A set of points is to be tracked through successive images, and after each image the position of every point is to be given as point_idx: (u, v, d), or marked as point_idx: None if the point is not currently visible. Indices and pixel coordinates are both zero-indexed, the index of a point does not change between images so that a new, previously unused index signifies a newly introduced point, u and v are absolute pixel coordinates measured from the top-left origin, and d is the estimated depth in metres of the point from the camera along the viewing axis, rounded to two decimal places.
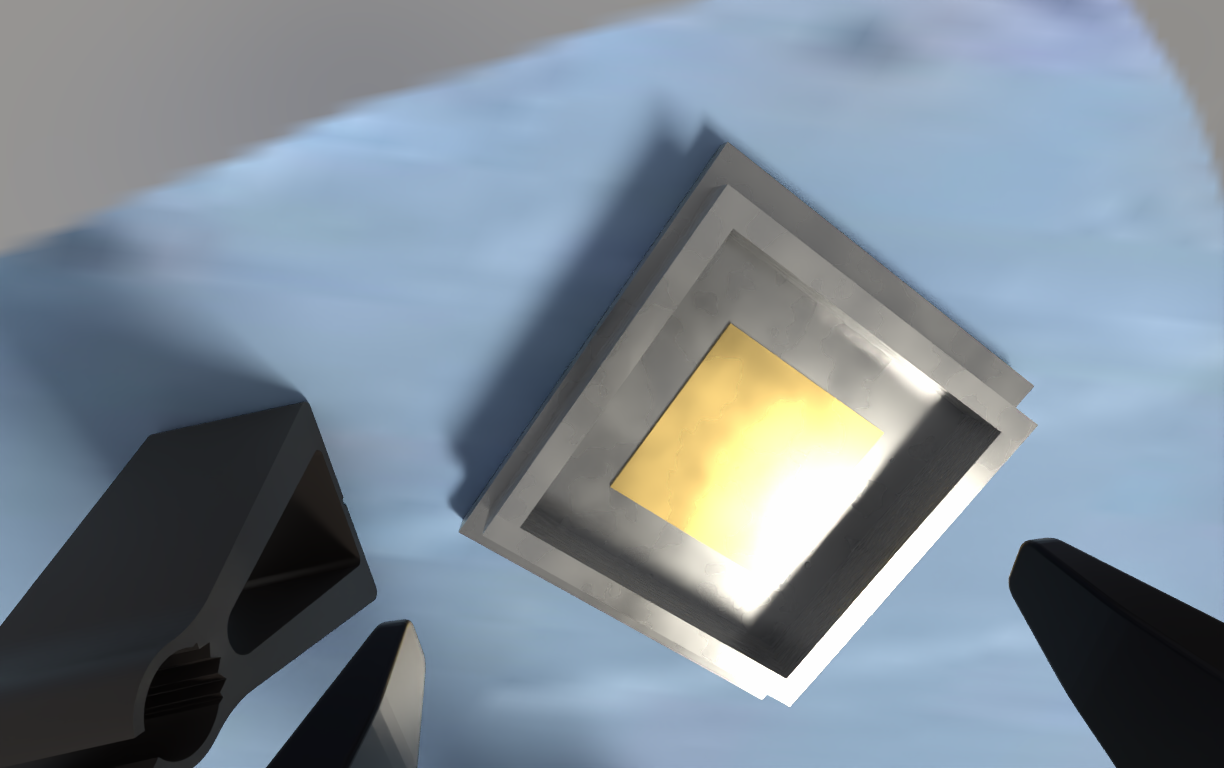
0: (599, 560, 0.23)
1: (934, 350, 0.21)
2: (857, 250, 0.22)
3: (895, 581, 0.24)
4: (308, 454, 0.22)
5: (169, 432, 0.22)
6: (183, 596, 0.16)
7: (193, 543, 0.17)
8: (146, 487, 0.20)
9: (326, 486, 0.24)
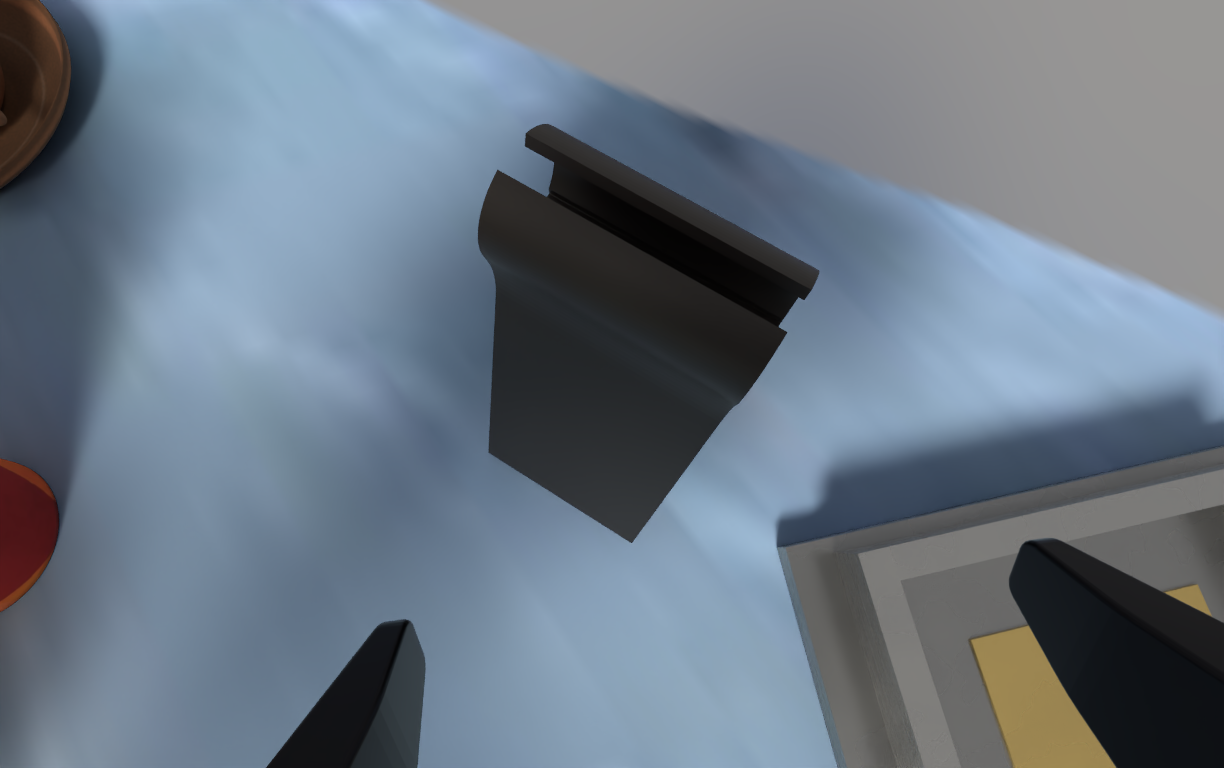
0: None
1: None
2: None
3: None
4: None
5: None
6: None
7: None
8: None
9: None
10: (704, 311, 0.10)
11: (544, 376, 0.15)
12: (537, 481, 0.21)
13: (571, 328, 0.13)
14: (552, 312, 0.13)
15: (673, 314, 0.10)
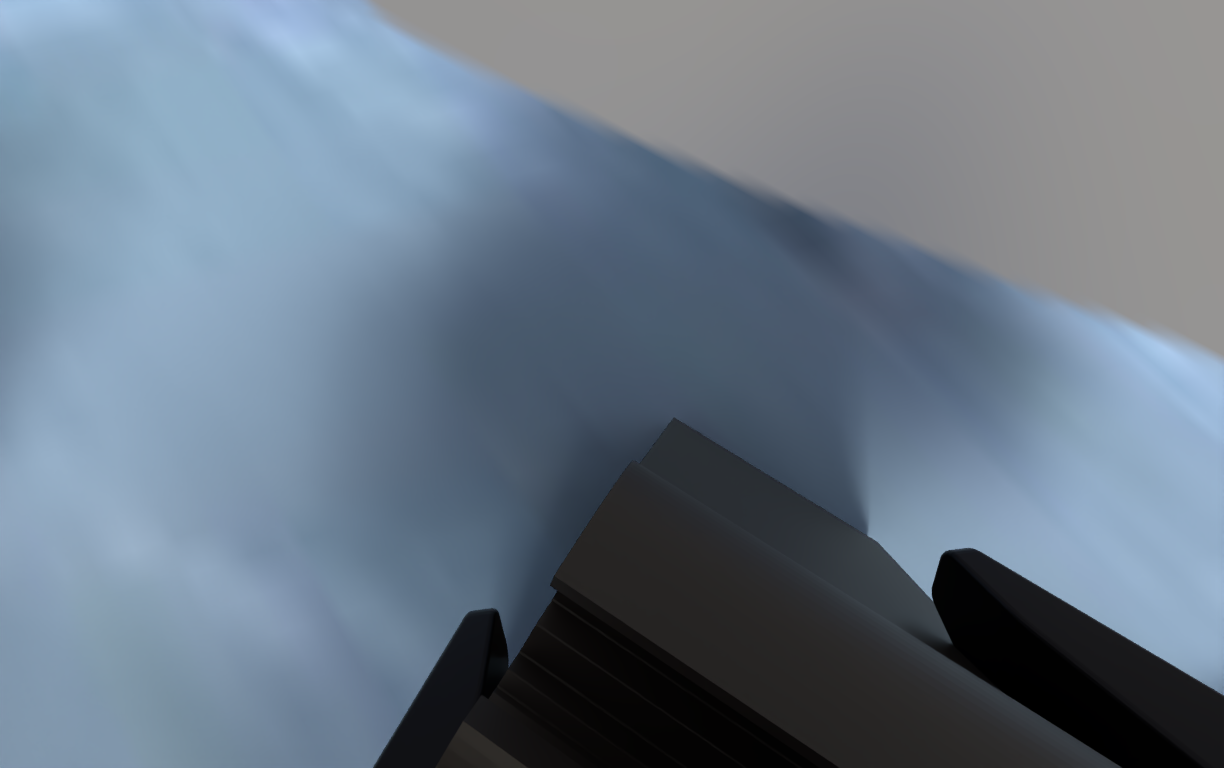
0: None
1: None
2: None
3: None
4: None
5: (700, 434, 0.15)
6: None
7: (914, 620, 0.09)
8: (727, 470, 0.12)
9: None
10: None
11: None
12: None
13: None
14: None
15: None
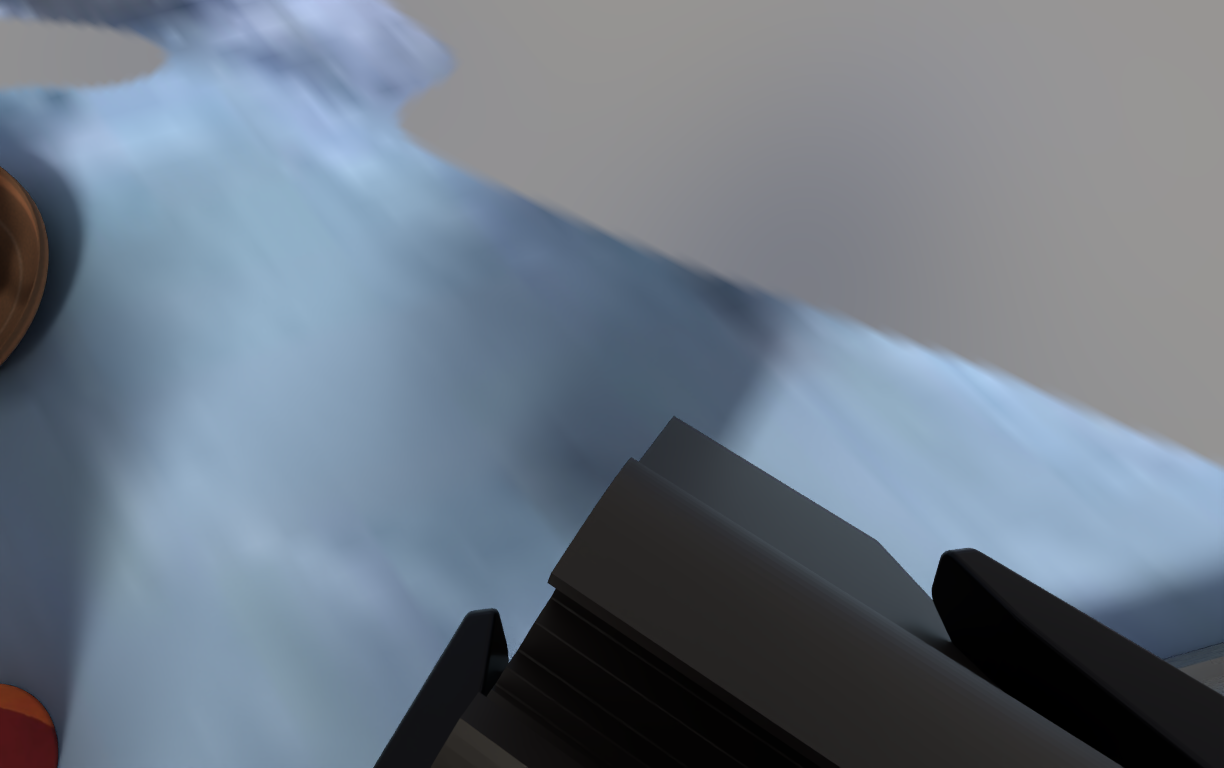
0: None
1: None
2: None
3: None
4: None
5: (700, 432, 0.15)
6: None
7: (913, 618, 0.09)
8: (727, 468, 0.12)
9: None
10: None
11: None
12: None
13: None
14: None
15: None
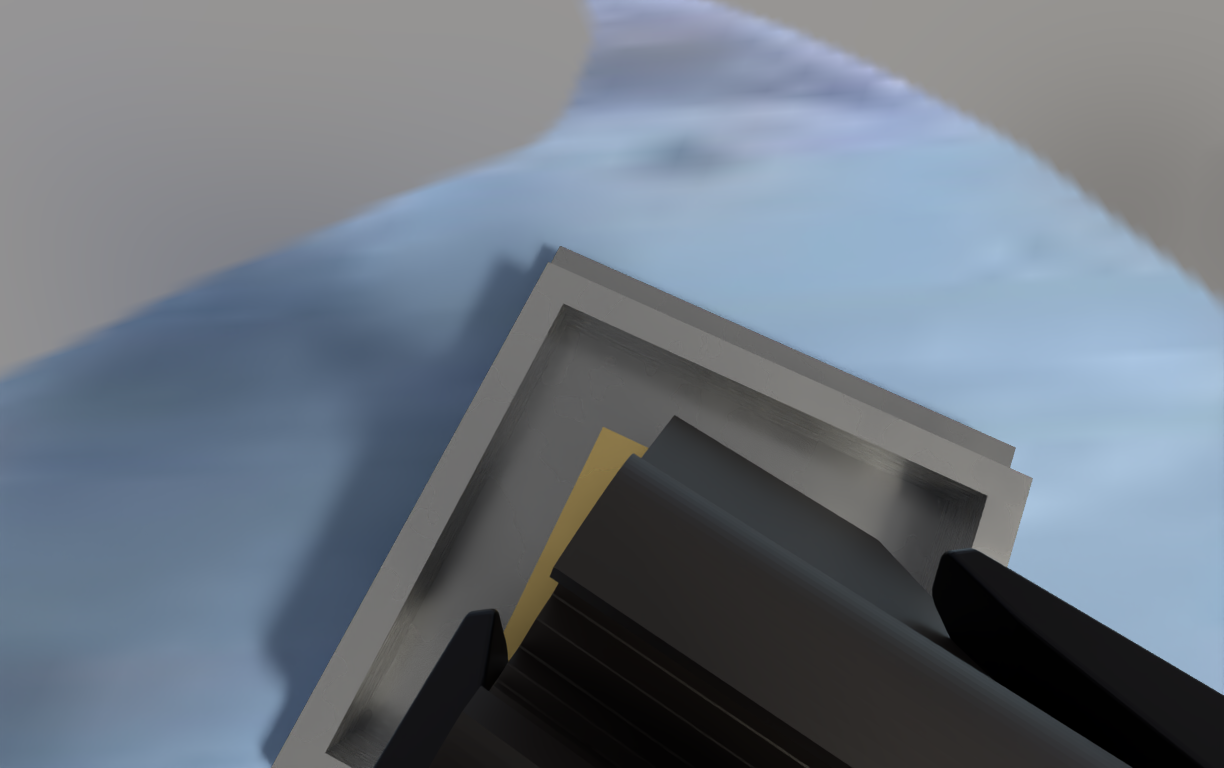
0: None
1: (848, 401, 0.17)
2: (730, 325, 0.19)
3: None
4: None
5: (701, 431, 0.15)
6: None
7: (915, 616, 0.09)
8: (728, 466, 0.12)
9: None
10: None
11: None
12: None
13: None
14: None
15: None
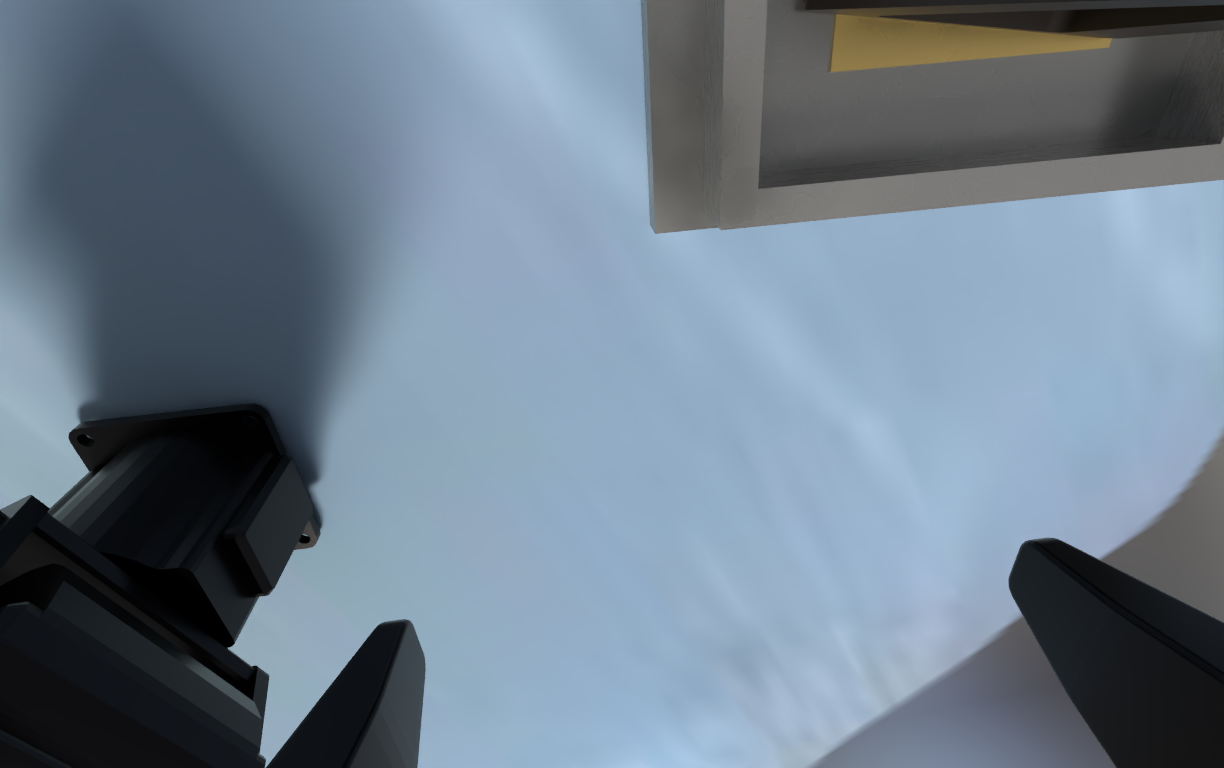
0: None
1: None
2: None
3: (967, 200, 0.16)
4: (1089, 32, 0.15)
5: None
6: None
7: None
8: None
9: (1003, 13, 0.16)
10: None
11: None
12: None
13: None
14: None
15: None
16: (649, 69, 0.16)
